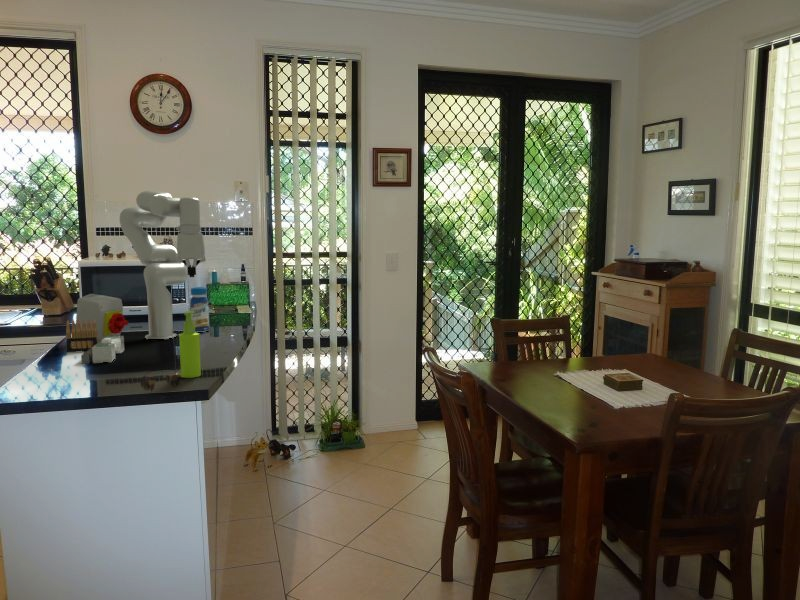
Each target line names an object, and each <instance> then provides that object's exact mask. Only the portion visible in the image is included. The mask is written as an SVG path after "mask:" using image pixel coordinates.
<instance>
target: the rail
mask: <svg viewBox="0 0 800 600" xmlns="http://www.w3.org/2000/svg"><path fill="white" fill-rule="evenodd" d="M105 338H111V339H112V341H113V342H114V343H115V344H116V346H117V347H116V351H115V344H111V342H110V343H97V344H96V345H94V346H93V347H92V348H90V349H89V350H88V351H84V352H83V354H81V355H80V357H81V358H80V360H81V365H88V364H89V363H90V362H91V363H92V364H100V363H101V364H103V362H108V363H113V362H114V361H115V360H116V354H122V353H123V352H124V351H125V338H124V335H121V334H120V335H108V336H107V337H105ZM114 359H115V360H114ZM113 360H114V361H113ZM112 361H113V362H112ZM83 363H84V364H83ZM86 363H87V364H86ZM91 363H90V364H91Z"/></svg>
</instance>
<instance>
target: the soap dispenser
mask: <svg viewBox="0 0 800 600" xmlns="http://www.w3.org/2000/svg"><path fill="white" fill-rule="evenodd" d="M192 313H195V311H190V310H186V311H185V312H184V313H183V315H184V316H185V321H184V322H183V323H182V326H183V332H181V333H180V334H179V335H178V337H179V360H180V361H179V362H180V365H179V366H180V377H181V378H183V379H185V378H186V379H188V378H189V379H191V378H193V379H194V378H197V377H200V376H202V374H201V373H202V371H201V370H202V369H201V343H200V333H196V332H195V323H194V322H193V321H192Z"/></svg>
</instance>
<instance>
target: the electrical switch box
mask: <svg viewBox="0 0 800 600" xmlns="http://www.w3.org/2000/svg"><path fill="white" fill-rule="evenodd" d="M123 312H124V306H123V302H122V299H121V298H119V297H113V296H108V295H102V294H96V293H89V294H86V295H84V296H82V297H79V298H78V299H77V303H76V317H75V329H76V337H77V321H78V320H79V322H80V327H81V334H82V321H83V319H84V321H85V326H86V332H87V322H88V319H89V320H90V324H91V330H92V327H93V325H92V324H93V319H94V320H95V322H96V329H97V339H98V343H101V342H102V339H104V338H105V337H107V336H108V335H120V336H121V333H122V330H123V329H124V327H125V326H128V325H129V320H126V319H125V318H126V317H125V316H124V314H123ZM92 344H93V341H92ZM87 345H88V343H87Z"/></svg>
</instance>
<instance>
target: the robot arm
mask: <svg viewBox="0 0 800 600" xmlns="http://www.w3.org/2000/svg"><path fill="white" fill-rule="evenodd" d="M136 205H137V206H138V207H137V206H135V207H132V206H131V207H126V208H124V209H122V210H121V212H119V213H120V214H119V224H120V228H121V230H122V232H123V234H124V236H125V237H126V238H127V240H128V241H129V242H130V244H131V245H132V247H133V249H134V251H135V253H136V256H137V257H138V259H139V261H140V263H141V264H142V265H143V266H144V267H145V268H144V269H143V278H144V283H145V287H146V295H147V298H146V299H147V300H146V301H147V315H148V316H147V317H148V320H147V321H148V322H147V323H148V334H145V335H144V338H146V340H148V339H164V340H170V339H169V338H172V339H175V338H174V337H176V336H177V337H178V334H177V333H174V328H173V327H174V326H173V323H174V322H173V305H172V303H173V300H172V294H171V292H170V291H169V290H168V288H167V287H168V286H177V285H182V284H185V282H187V280H188V276H189V278H195V276H197V269H196V268H197V266H198V265H199V264H200V263H204V262H206V256H205V255H206V250H205V249H206V248H205V241H204V234H203V233H202V232H201V212H200V211H201V210H200V208H201V207H200V206H201V205H200V200H199V198H197V197H173V196H172V195H171V194H170V193H169V192H166V191H157V190H154V191H153V190H145V191H142V192H140V193H139V194H138V195H137V196H136ZM167 218H179V226H176V227H175V230H176V231H178V232H179V233H177V239H176V247H175V246H173V245H172V244H167V243H163V244H162V243H156V242H155V241H154V240H153V238H152V236H151V234H149V232H148V231H146V230H144V229H143V228H158V227H160V226H162V225H163V224H164V222H166V220H167ZM191 260H193V262H192V265H191V262H190V261H191ZM177 337H176V338H177Z"/></svg>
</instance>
